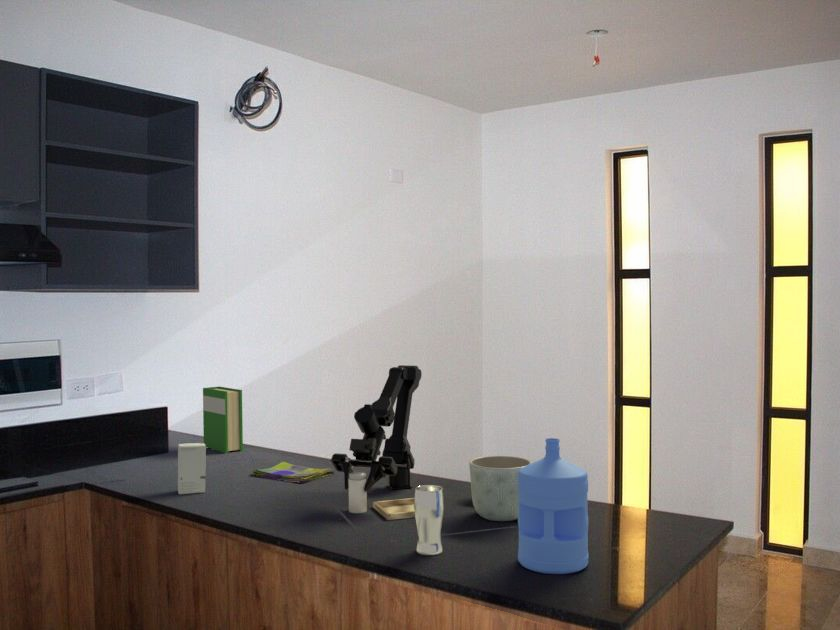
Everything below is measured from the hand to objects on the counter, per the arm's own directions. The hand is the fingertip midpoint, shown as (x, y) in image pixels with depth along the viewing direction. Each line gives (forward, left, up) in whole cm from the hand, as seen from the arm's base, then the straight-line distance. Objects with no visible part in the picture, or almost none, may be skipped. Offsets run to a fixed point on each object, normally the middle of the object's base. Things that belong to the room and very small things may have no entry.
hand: (355, 490), depth 223 cm
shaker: (-1, -1, -7) cm, 7 cm away
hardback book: (+25, -110, -7) cm, 113 cm away
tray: (-13, +4, -7) cm, 15 cm away
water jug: (-31, +56, -7) cm, 64 cm away
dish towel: (+7, -55, -7) cm, 56 cm away
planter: (-36, +18, -7) cm, 41 cm away
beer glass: (-8, +38, -7) cm, 39 cm away
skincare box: (+41, -43, -7) cm, 60 cm away
